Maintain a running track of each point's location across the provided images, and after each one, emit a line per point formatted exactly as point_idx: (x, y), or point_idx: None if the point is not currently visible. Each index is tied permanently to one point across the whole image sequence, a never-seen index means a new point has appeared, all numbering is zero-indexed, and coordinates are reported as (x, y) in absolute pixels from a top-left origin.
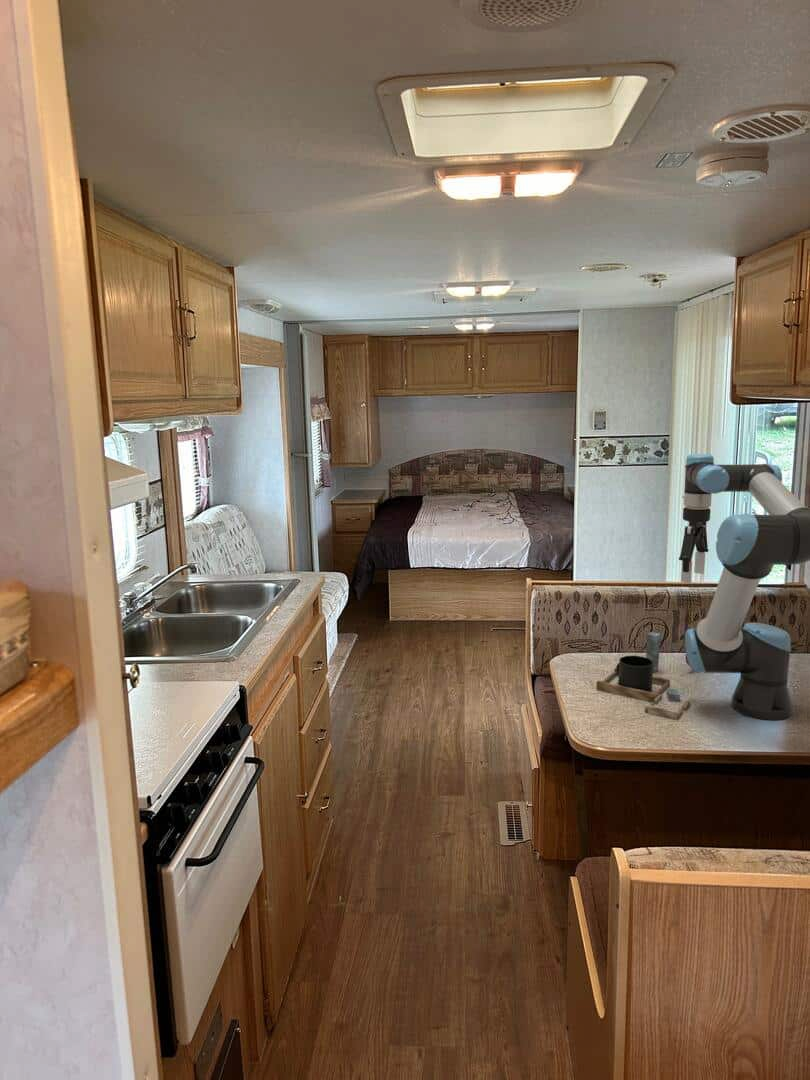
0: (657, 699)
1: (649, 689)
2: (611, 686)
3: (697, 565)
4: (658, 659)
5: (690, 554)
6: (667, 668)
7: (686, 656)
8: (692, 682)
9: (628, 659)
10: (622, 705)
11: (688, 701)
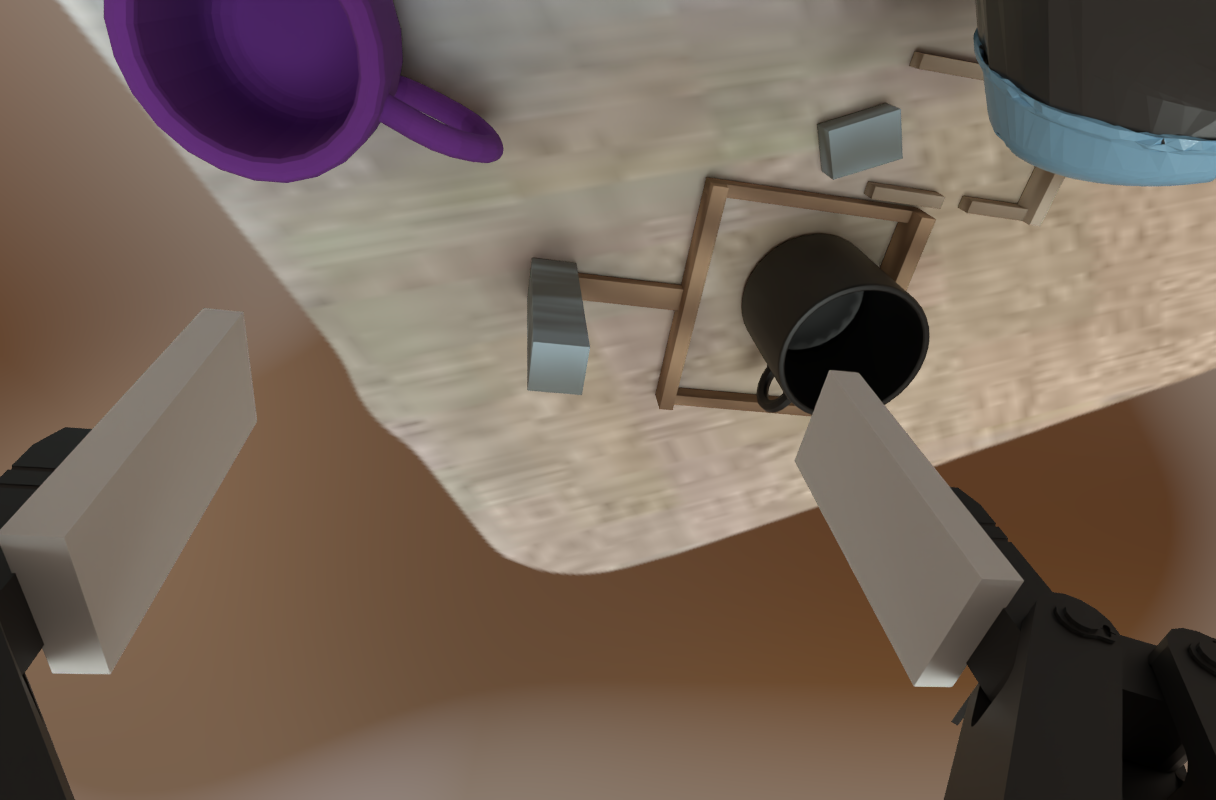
0: (932, 195)
1: (850, 244)
2: None
3: (208, 456)
4: (535, 279)
5: (1110, 713)
6: (481, 224)
7: (501, 154)
8: (621, 80)
9: (790, 388)
10: (964, 302)
11: (934, 61)
